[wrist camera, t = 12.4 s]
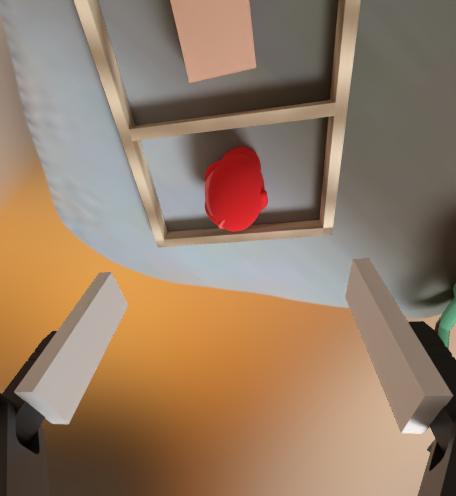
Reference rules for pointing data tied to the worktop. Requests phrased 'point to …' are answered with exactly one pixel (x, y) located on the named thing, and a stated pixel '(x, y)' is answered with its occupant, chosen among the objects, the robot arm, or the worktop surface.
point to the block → (214, 36)
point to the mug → (447, 320)
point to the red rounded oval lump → (235, 190)
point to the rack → (133, 134)
